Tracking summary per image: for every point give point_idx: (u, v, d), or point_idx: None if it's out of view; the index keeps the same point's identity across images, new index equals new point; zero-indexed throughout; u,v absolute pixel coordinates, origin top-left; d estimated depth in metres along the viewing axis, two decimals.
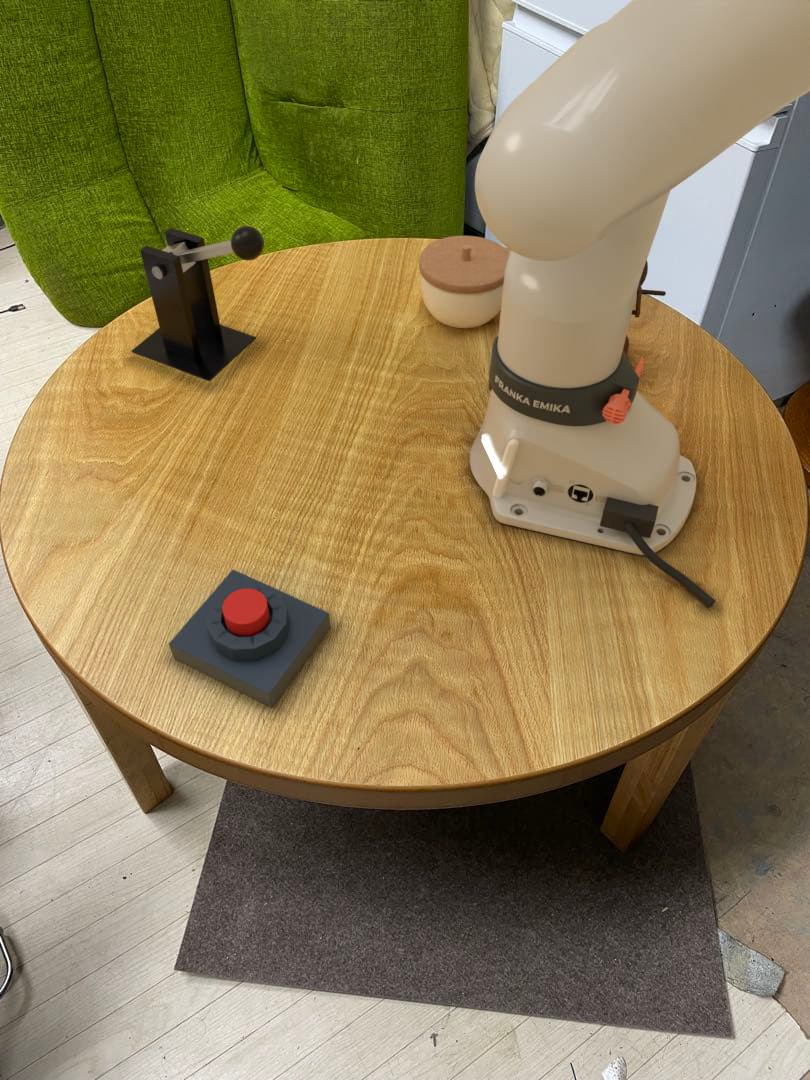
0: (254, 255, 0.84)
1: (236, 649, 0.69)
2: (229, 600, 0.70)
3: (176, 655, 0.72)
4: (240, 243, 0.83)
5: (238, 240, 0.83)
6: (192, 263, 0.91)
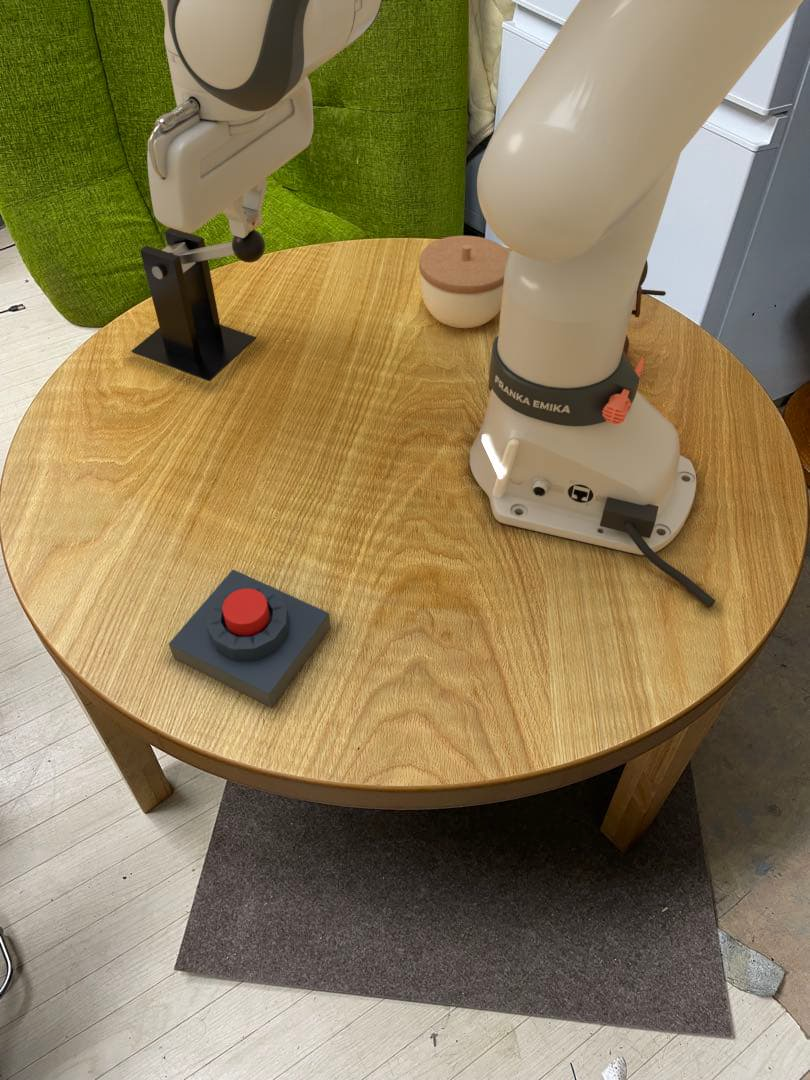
0: (255, 257, 0.84)
1: (236, 649, 0.69)
2: (229, 600, 0.70)
3: (176, 655, 0.72)
4: (241, 245, 0.83)
5: (239, 242, 0.83)
6: (192, 263, 0.91)
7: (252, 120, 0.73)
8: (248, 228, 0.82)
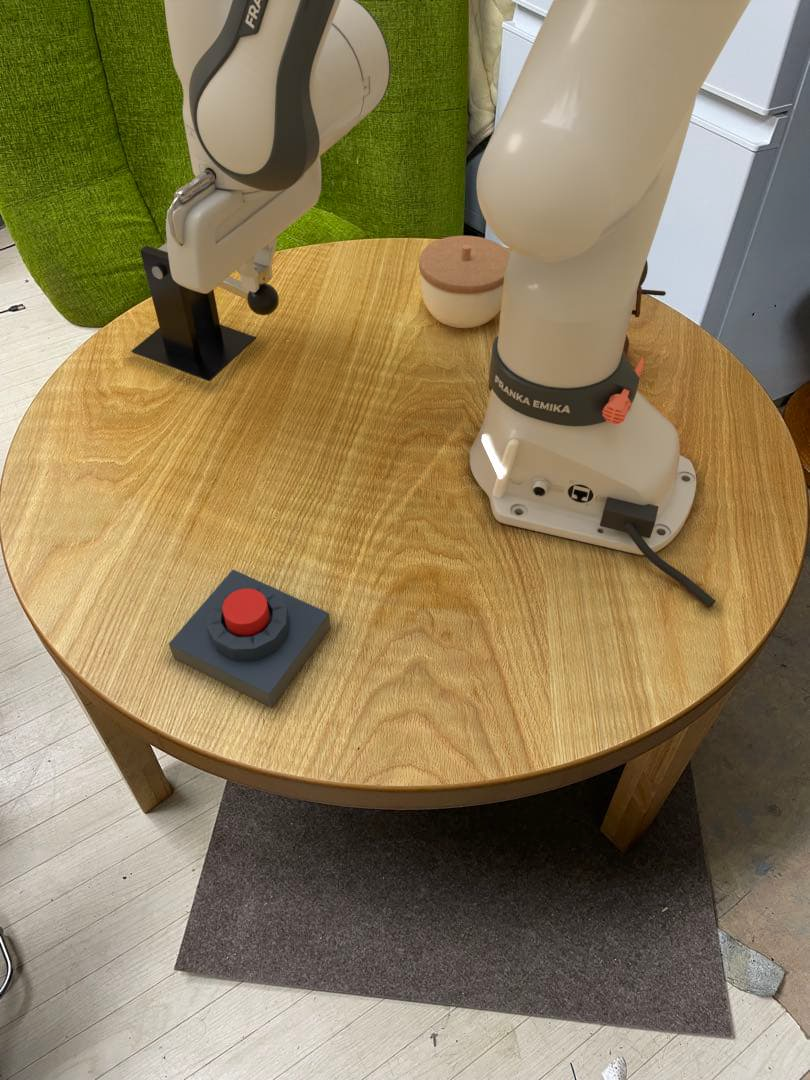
0: (266, 314, 0.89)
1: (236, 649, 0.69)
2: (229, 600, 0.70)
3: (176, 655, 0.72)
4: (259, 303, 0.87)
5: (258, 299, 0.87)
6: None
7: None
8: (259, 283, 0.86)
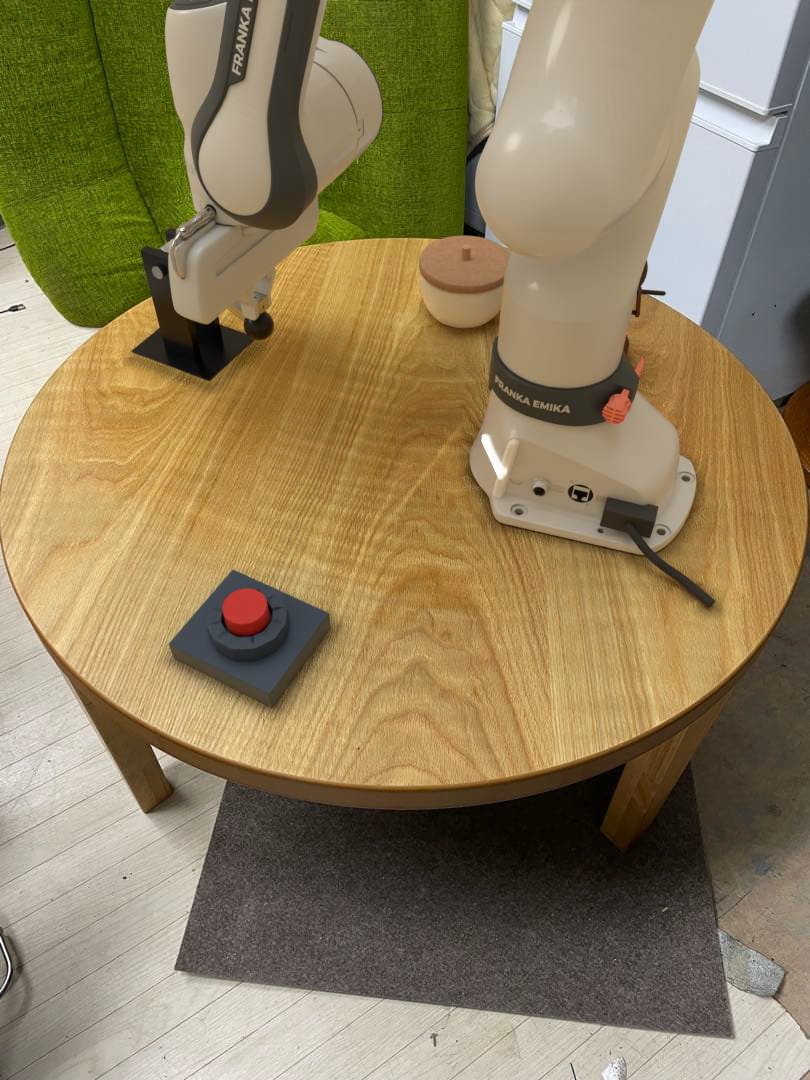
0: (259, 340, 0.92)
1: (236, 649, 0.69)
2: (229, 600, 0.70)
3: (176, 655, 0.72)
4: (256, 331, 0.91)
5: (256, 328, 0.90)
6: None
7: None
8: (259, 311, 0.89)
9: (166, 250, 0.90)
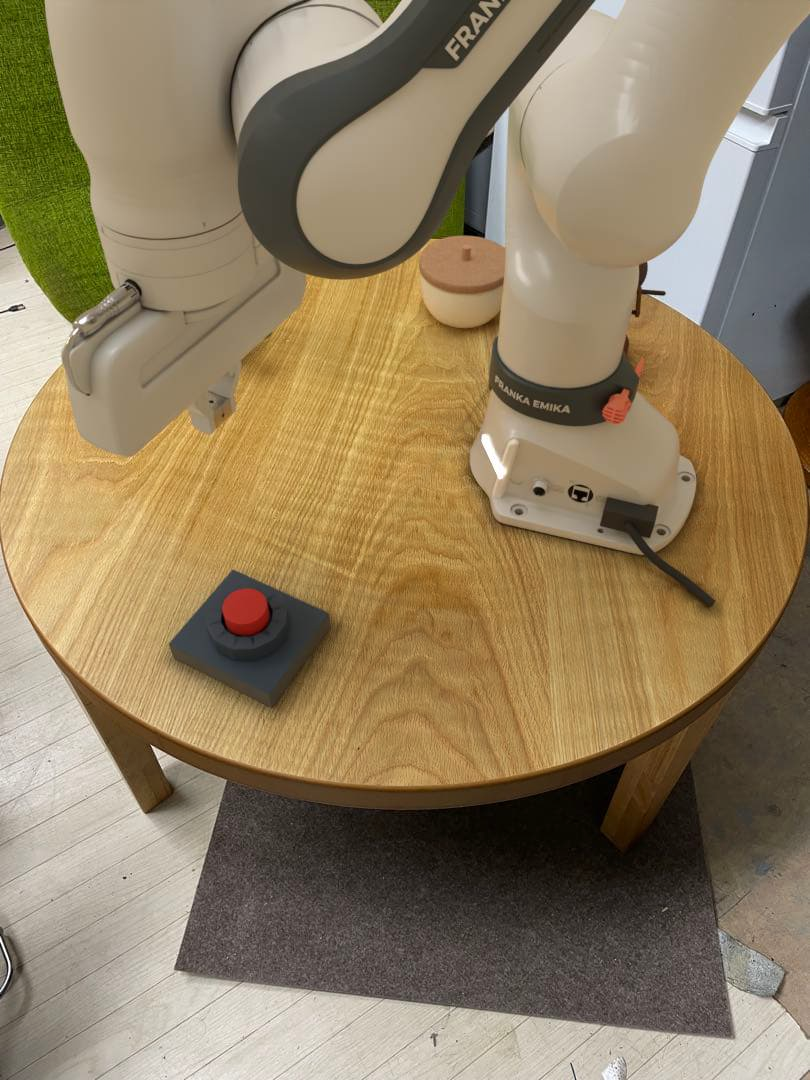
0: None
1: (236, 649, 0.69)
2: (229, 600, 0.70)
3: (176, 655, 0.72)
4: None
5: None
6: None
7: (217, 303, 0.52)
8: (216, 423, 0.61)
9: None
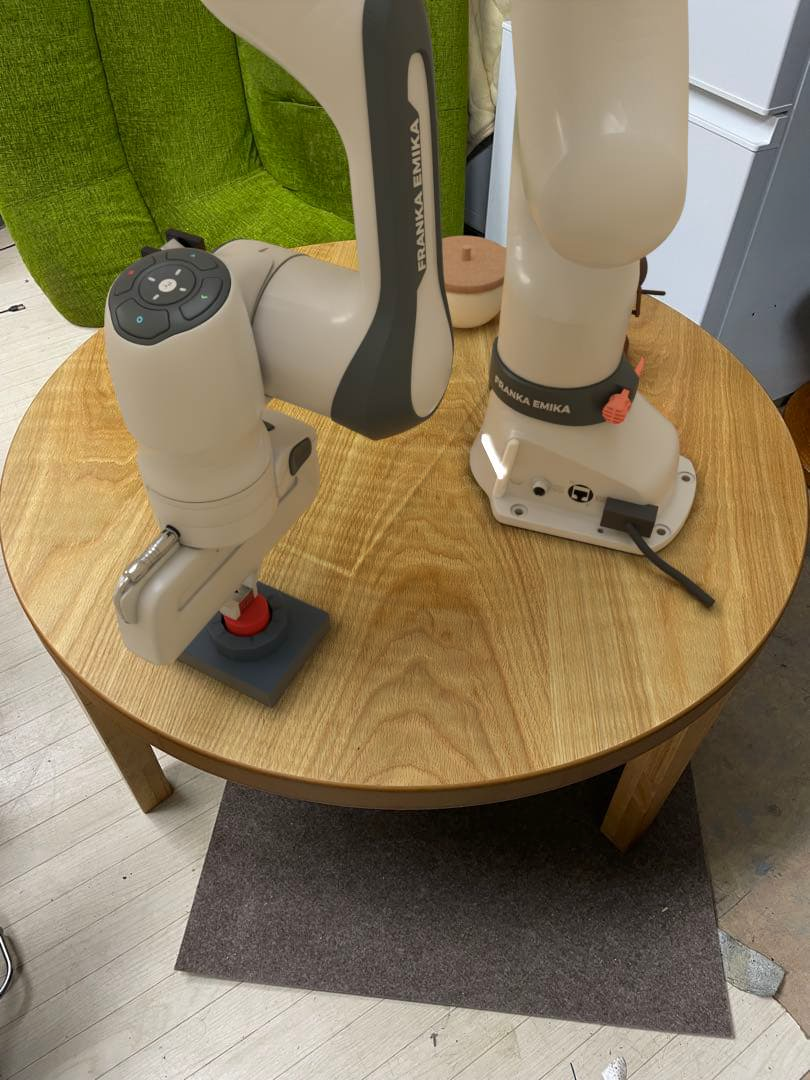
0: None
1: (236, 649, 0.69)
2: None
3: None
4: None
5: None
6: None
7: None
8: (240, 610, 0.69)
9: None
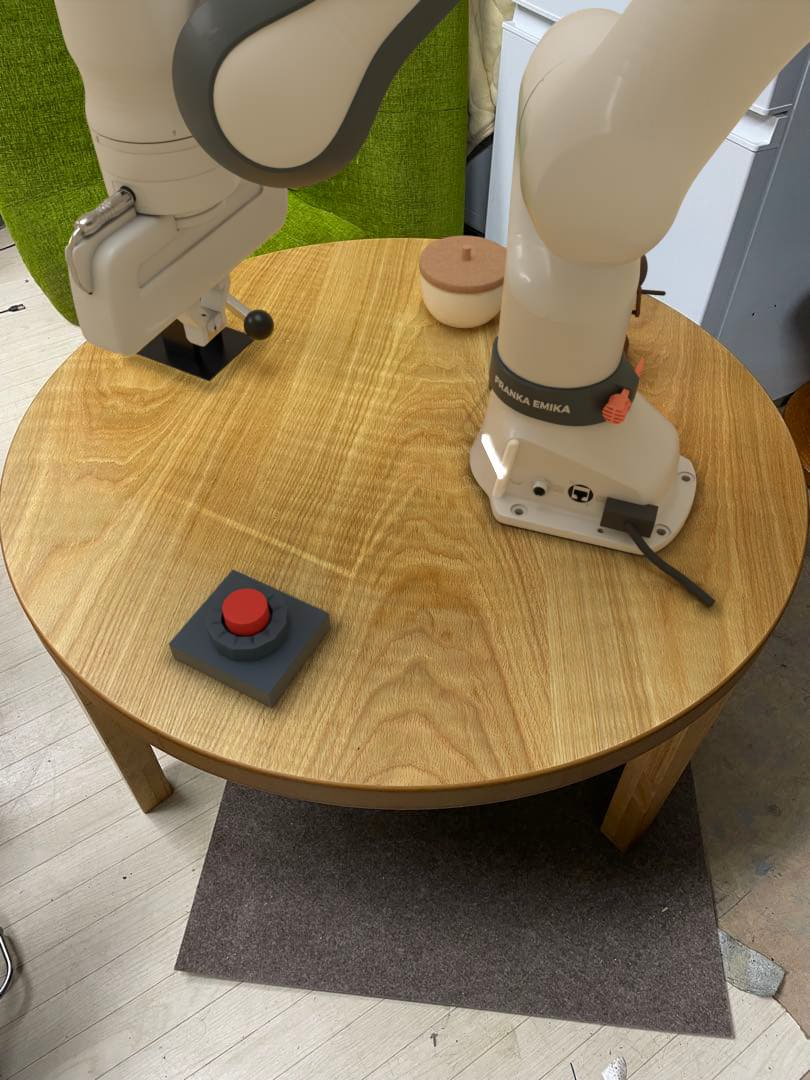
0: (259, 340, 0.92)
1: (236, 649, 0.69)
2: (229, 600, 0.70)
3: (176, 655, 0.72)
4: (256, 331, 0.91)
5: (256, 328, 0.90)
6: None
7: (206, 210, 0.57)
8: (209, 334, 0.65)
9: None
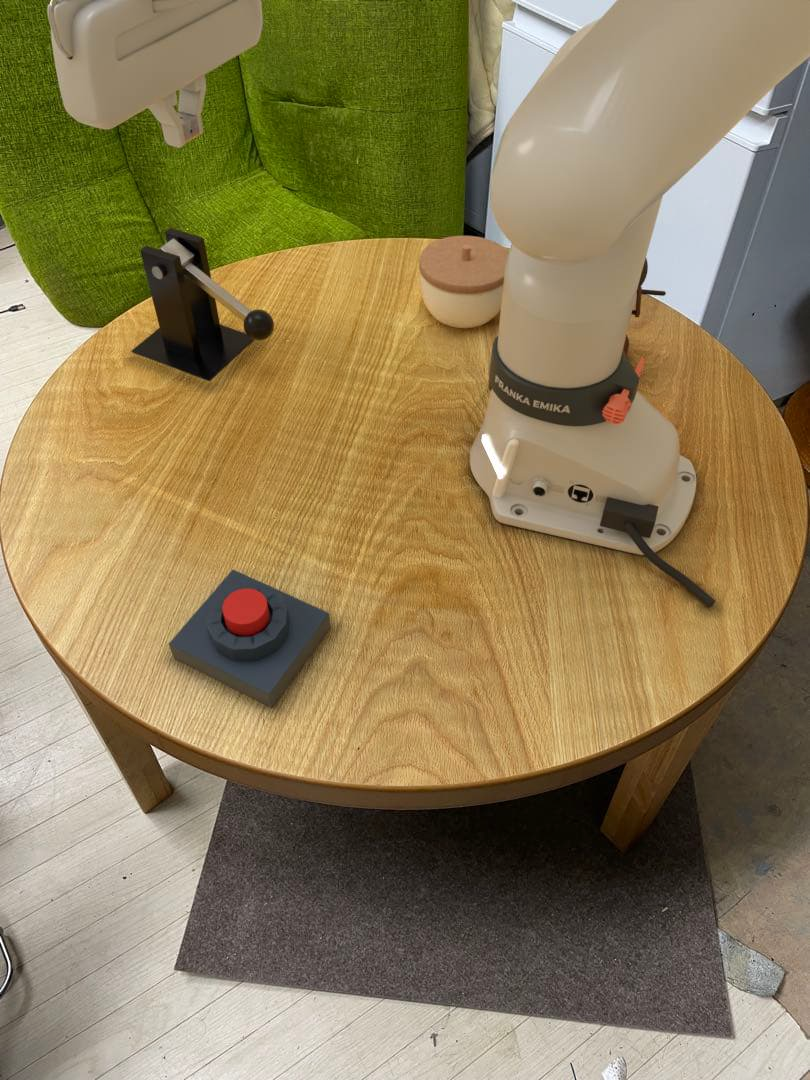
0: (259, 340, 0.92)
1: (236, 649, 0.69)
2: (229, 600, 0.70)
3: (176, 655, 0.72)
4: (256, 331, 0.91)
5: (256, 328, 0.90)
6: None
7: None
8: (185, 136, 0.70)
9: (166, 250, 0.90)
